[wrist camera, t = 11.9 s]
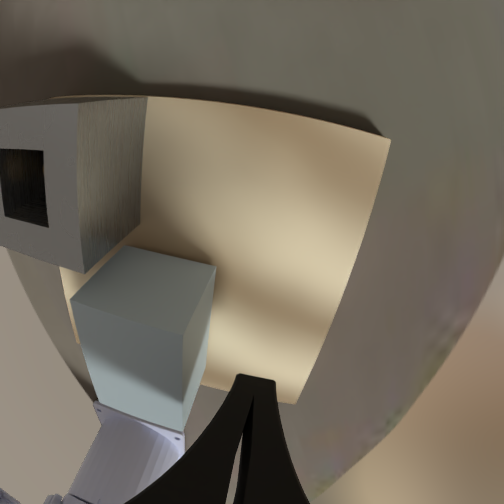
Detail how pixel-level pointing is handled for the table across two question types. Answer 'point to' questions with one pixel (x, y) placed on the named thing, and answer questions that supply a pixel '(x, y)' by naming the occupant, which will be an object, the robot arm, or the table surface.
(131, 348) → the block
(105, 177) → the block
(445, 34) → the table surface
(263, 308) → the plate
